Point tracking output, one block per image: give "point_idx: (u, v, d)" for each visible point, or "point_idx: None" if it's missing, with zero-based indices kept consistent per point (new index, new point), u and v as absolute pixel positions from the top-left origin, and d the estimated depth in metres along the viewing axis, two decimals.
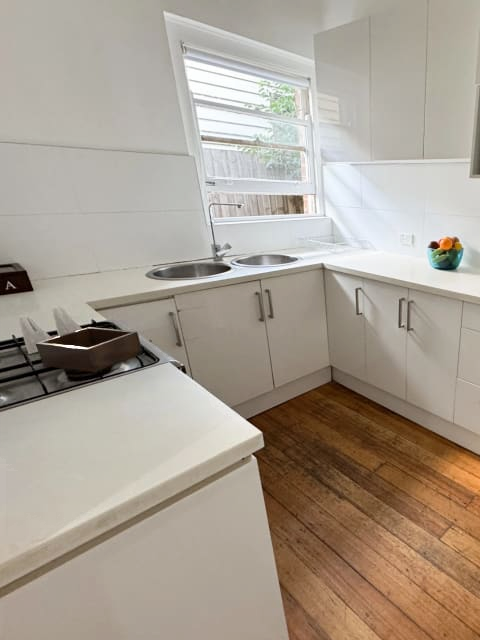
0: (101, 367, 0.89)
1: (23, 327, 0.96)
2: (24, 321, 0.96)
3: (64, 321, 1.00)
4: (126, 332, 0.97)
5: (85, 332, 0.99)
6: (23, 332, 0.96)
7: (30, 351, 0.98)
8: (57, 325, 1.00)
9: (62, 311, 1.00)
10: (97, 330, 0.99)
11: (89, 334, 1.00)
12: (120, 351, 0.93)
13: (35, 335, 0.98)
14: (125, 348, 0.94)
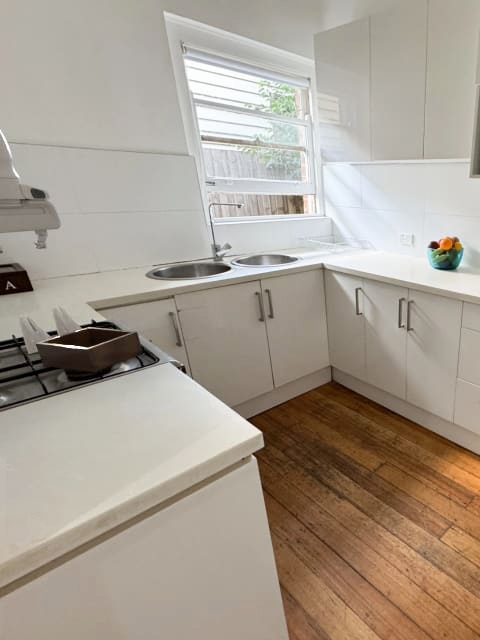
0: (101, 367, 0.89)
1: (23, 327, 0.96)
2: (24, 321, 0.96)
3: (64, 321, 1.00)
4: (126, 332, 0.97)
5: (85, 332, 0.99)
6: (23, 332, 0.96)
7: (30, 351, 0.98)
8: (57, 325, 1.00)
9: (62, 311, 1.00)
10: (97, 330, 0.99)
11: (89, 334, 1.00)
12: (120, 351, 0.93)
13: (35, 335, 0.98)
14: (125, 348, 0.94)
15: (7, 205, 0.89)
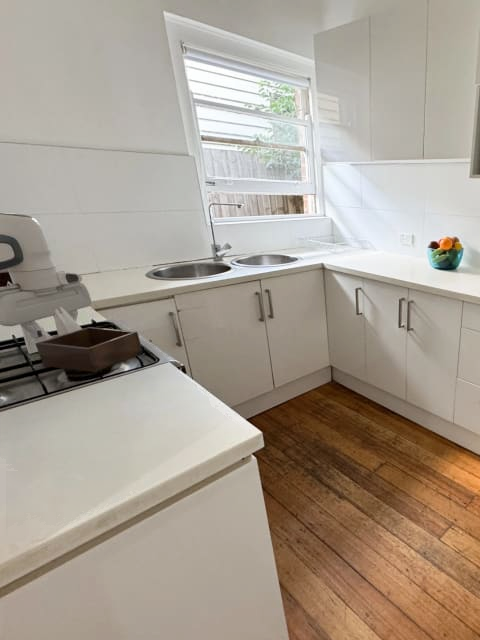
0: (101, 367, 0.89)
1: None
2: None
3: (64, 321, 1.00)
4: (126, 332, 0.97)
5: (85, 332, 0.99)
6: (23, 332, 0.97)
7: (30, 351, 0.98)
8: (57, 325, 1.00)
9: (62, 311, 1.00)
10: (97, 330, 0.99)
11: (89, 334, 1.00)
12: (120, 351, 0.93)
13: None
14: (125, 348, 0.94)
15: (45, 293, 0.95)
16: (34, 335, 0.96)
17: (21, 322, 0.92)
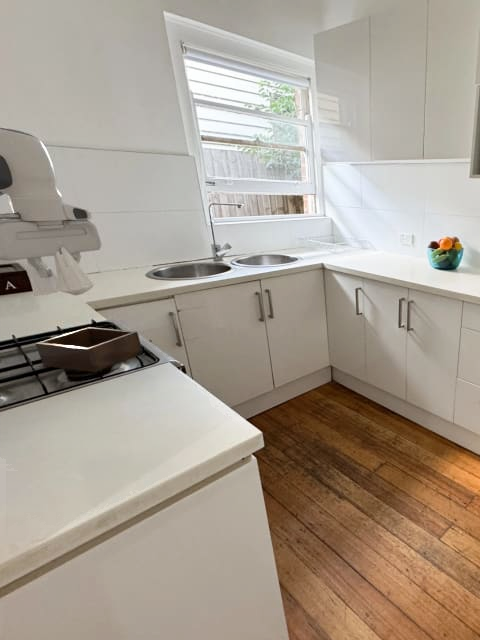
0: (101, 367, 0.89)
1: (28, 266, 0.87)
2: None
3: (61, 265, 0.86)
4: (126, 332, 0.97)
5: (85, 332, 0.99)
6: (29, 271, 0.87)
7: (34, 293, 0.88)
8: (56, 268, 0.87)
9: (62, 253, 0.87)
10: (97, 330, 0.99)
11: (89, 334, 1.00)
12: (120, 351, 0.93)
13: (37, 277, 0.87)
14: (125, 348, 0.94)
15: (49, 227, 0.83)
16: (43, 274, 0.85)
17: (21, 257, 0.80)
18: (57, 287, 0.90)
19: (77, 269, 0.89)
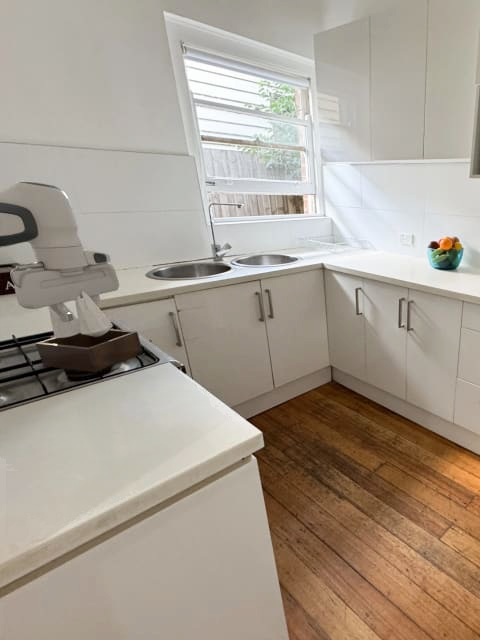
0: (101, 367, 0.89)
1: (50, 309, 0.89)
2: None
3: (82, 309, 0.89)
4: (126, 332, 0.97)
5: None
6: (50, 315, 0.89)
7: (55, 336, 0.91)
8: (77, 312, 0.89)
9: (83, 297, 0.89)
10: None
11: None
12: (120, 351, 0.93)
13: (58, 320, 0.89)
14: (125, 348, 0.94)
15: (71, 273, 0.86)
16: (64, 318, 0.87)
17: (45, 305, 0.82)
18: (77, 329, 0.92)
19: (97, 312, 0.91)
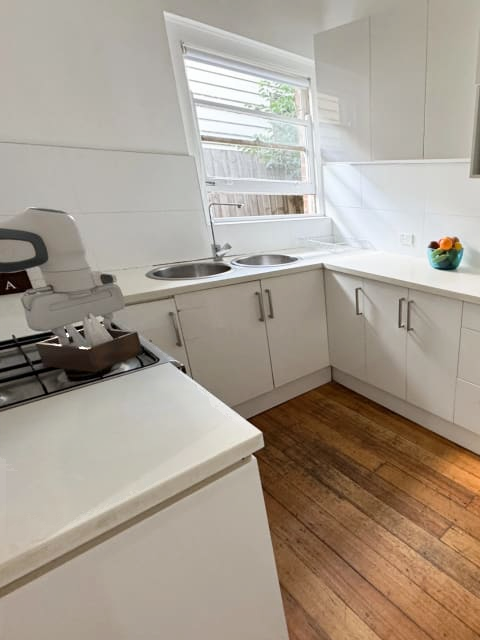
0: (101, 367, 0.89)
1: None
2: None
3: (89, 331, 0.91)
4: (126, 332, 0.97)
5: None
6: None
7: None
8: (85, 334, 0.91)
9: (91, 319, 0.91)
10: None
11: None
12: (120, 351, 0.93)
13: None
14: (125, 348, 0.94)
15: (79, 295, 0.88)
16: (65, 342, 0.88)
17: (54, 327, 0.84)
18: None
19: (104, 333, 0.93)
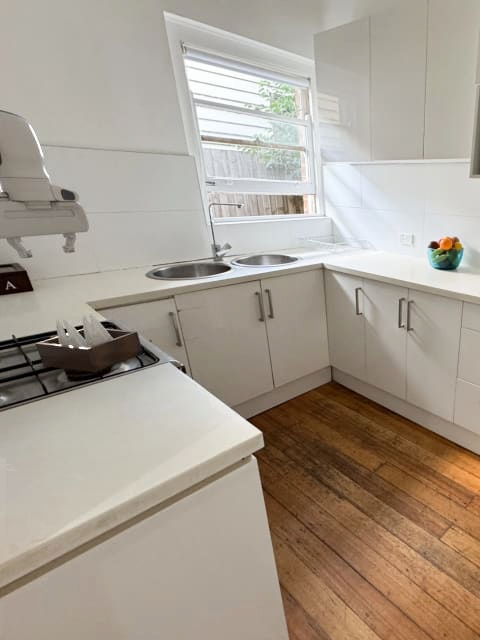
0: (101, 367, 0.89)
1: (58, 331, 0.91)
2: (58, 325, 0.91)
3: (89, 331, 0.91)
4: (126, 332, 0.97)
5: None
6: (58, 336, 0.91)
7: None
8: (85, 334, 0.91)
9: (91, 319, 0.91)
10: None
11: None
12: (120, 351, 0.93)
13: (66, 341, 0.91)
14: (125, 348, 0.94)
15: (38, 207, 0.85)
16: (22, 254, 0.85)
17: (10, 236, 0.82)
18: None
19: (104, 333, 0.93)
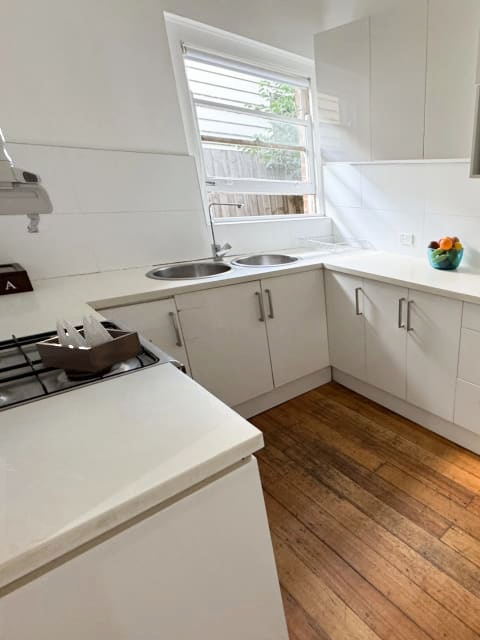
0: (101, 367, 0.89)
1: (58, 331, 0.91)
2: (58, 325, 0.91)
3: (89, 331, 0.91)
4: (126, 332, 0.97)
5: None
6: (58, 336, 0.91)
7: None
8: (85, 334, 0.91)
9: (91, 319, 0.91)
10: None
11: None
12: (120, 351, 0.93)
13: (66, 341, 0.91)
14: (125, 348, 0.94)
15: None
16: None
17: None
18: None
19: (104, 333, 0.93)
